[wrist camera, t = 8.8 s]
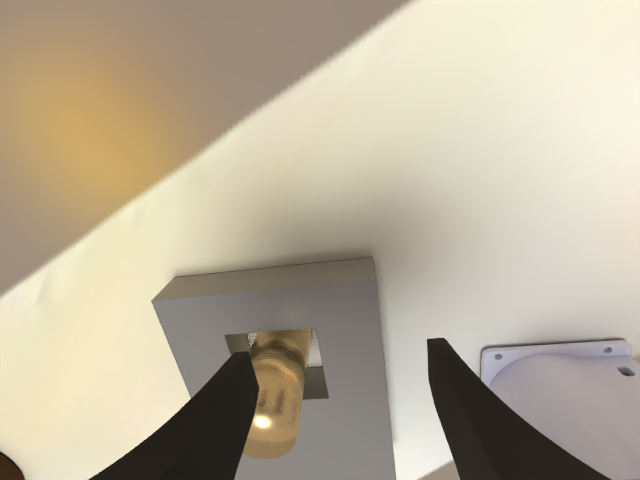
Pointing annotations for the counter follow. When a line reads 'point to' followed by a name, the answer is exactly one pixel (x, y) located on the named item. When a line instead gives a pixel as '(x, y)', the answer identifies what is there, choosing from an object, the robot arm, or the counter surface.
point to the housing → (321, 382)
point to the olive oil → (8, 470)
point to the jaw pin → (278, 391)
